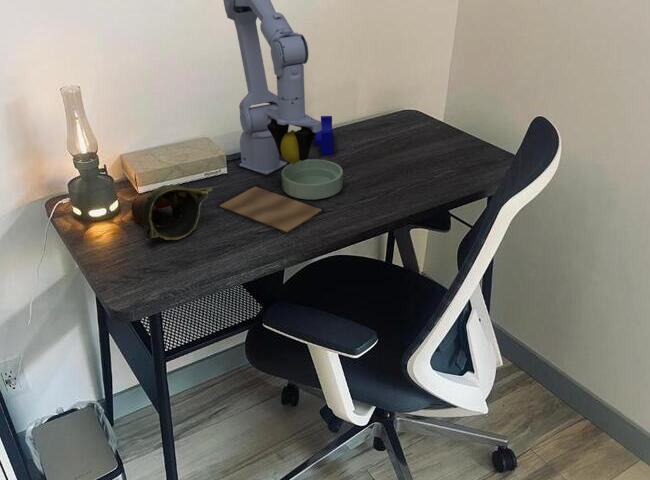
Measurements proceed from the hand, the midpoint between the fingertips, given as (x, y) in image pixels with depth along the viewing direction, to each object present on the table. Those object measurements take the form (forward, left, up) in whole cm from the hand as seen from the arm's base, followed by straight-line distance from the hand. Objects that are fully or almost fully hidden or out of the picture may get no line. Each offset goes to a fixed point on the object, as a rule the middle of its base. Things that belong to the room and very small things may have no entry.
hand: (293, 156), depth 148 cm
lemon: (0, 0, -2) cm, 2 cm away
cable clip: (-13, +28, -10) cm, 32 cm away
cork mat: (-1, -8, -10) cm, 13 cm away
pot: (-12, -27, -10) cm, 31 cm away
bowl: (0, +6, -10) cm, 12 cm away
